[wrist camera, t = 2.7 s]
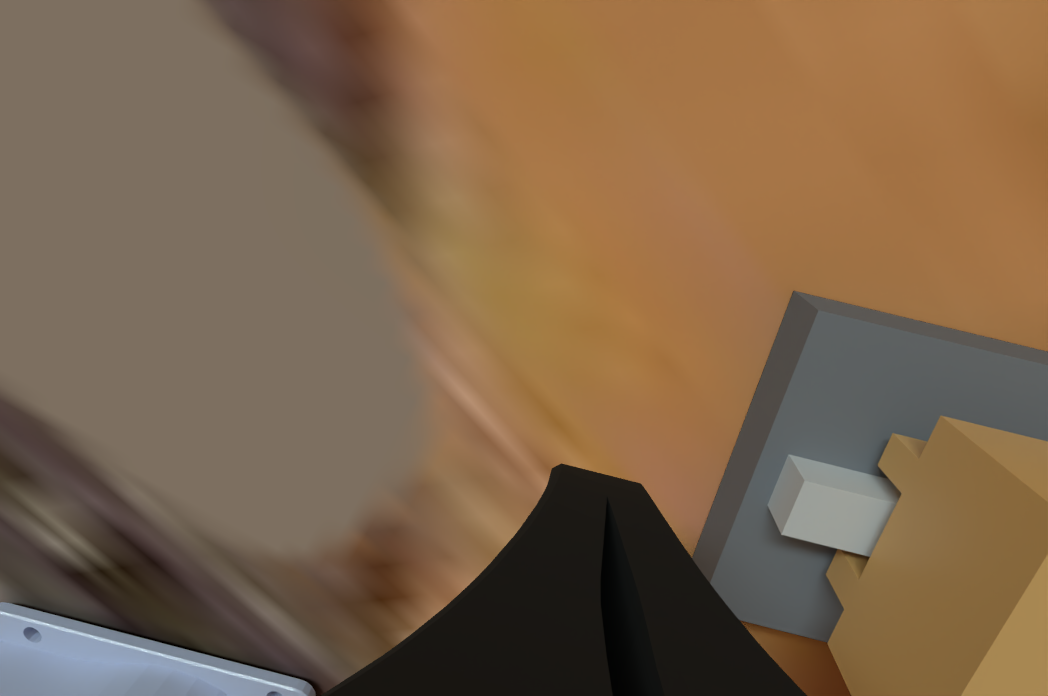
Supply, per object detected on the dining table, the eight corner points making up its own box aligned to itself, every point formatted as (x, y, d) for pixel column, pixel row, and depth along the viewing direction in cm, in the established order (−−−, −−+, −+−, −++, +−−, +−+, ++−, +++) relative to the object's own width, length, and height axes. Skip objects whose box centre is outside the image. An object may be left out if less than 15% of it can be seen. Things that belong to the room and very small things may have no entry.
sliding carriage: (810, 606, 13) (898, 797, 9) (911, 392, 11) (1069, 519, 8) (1000, 654, 13) (1167, 867, 9) (1130, 445, 11) (1400, 601, 8)
